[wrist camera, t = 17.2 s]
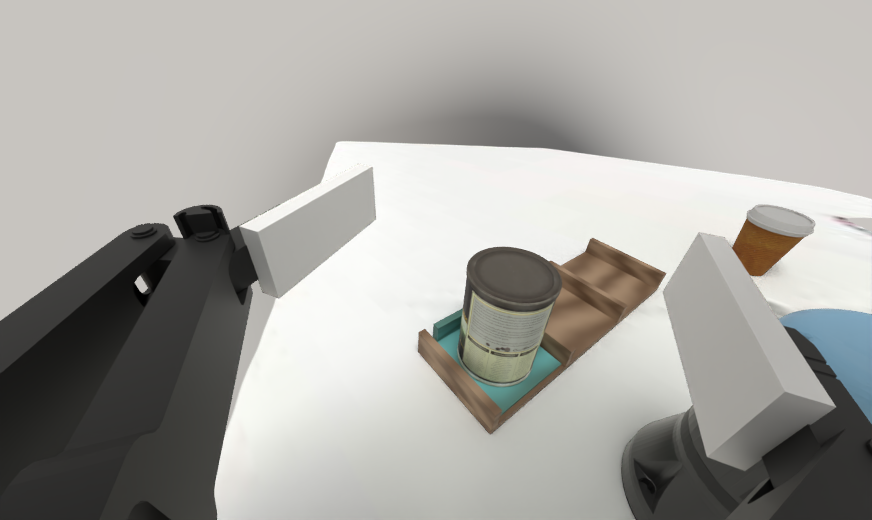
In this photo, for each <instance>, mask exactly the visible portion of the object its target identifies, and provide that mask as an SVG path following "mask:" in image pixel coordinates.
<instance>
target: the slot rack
mask: <svg viewBox="0 0 872 520" xmlns="http://www.w3.org/2000/svg"><path fill="white" fill-rule="evenodd" d="M549 262H550V263H551V264H552V265H553V266H554V267H555V268H556V269H557V270H558V272H559V274H560V276H561V279H562V289H561V291H560V294H559V296H558V297H557V299H556V301H555V304H554V307H553V310H552V312H551V315H550V318H549V321H548V324H547V326H546V329H545V332H544V335H543V338H542V340H541V343H540V346H539V348H538V351H537V354H536V357H535V360H534V362H533V367H532V370H531V372H530V374H529V375H528V377H527V378H526V379H524V380H523V381H521V382H520V383H518V384H515V385H513V386H508V387H495V386H490V385H486V384H484V383H482V382H480V381H478V380H476V379H475V378H473V377H472V376H471V375H469V374H468V373H467V372H466V371H465V369H464V368H463V367H462V365H461V363H460V361H459V358H458V354H457V346H458V342H459V335H460V327H461V320H462V312H463V309H461V310H459V311H457V312H455V313H453V314H451V315H450V316H448V317H446V318H444V319H442V320H440V321H439V322H437V323H435V324H434V327H433V337H432V336H431V335H430V334H429V333H428V332H427V331H426V330H425V329H424V330H422V331H420V332H419V340H418V352H419V353H420V354H421V356H422V357H423V358H424V359H425V360H426V361H427V362H428V364H429V365H430V366H431V367H432V368H433V369H434V371H435V372H436V373H437V374H438V375H439V376H440V377H441V379H442V380H443V381H444V382H445V383H446V384H447V385H448V387H449V388H450V389H451V390H452V391H453V392H454V394H455V395H456V396H457V397H458V398H459V399H460V400H461V402H462V403H463V404H464V405H465V406H466V407H467V409H468V410H469V411H470V412H471V413H472V414H473V415H474V417H475V418H476V419H477V420H478V421H479V422H480V424H481V425H482V426H483V427H484V428H485V429H486V430H487V432H488V433H489V434H491V433H493V432H494V431H495V430H496V429H497V428H498V427H500V426H501V425H502V424H503V423H504V422H505V421H506V420H508V419H509V418H510V417H511V416H512V415H513V414H515V413H516V412H517V411H518V410H519V409H520V408H521V407H523V406H524V405H525V404H526V403H527V402H528V401H530V400H531V399H532V398H533V397H534V396H535V395H536V394H538V393H539V392H540V391H541V390H542V389H543V388H545V387H546V386H547V385H548V384H549V383H550V382H551V381H553V380H554V379H555V378H556V377H557V376H558V375H560V374H561V373H562V372H563V371H564V370H565V369H566V368H568V367H569V366H570V365H571V364H572V363H573V362H574V361H576V360H577V359H578V358H579V357H580V356H581V355H583V354H584V353H585V352H586V351H587V350H588V349H589V348H591V347H592V346H593V345H594V344H595V343H596V342H598V341H599V340H600V339H601V338H602V337H603V336H604V335H606V334H607V333H608V332H609V331H610V330H611V329H613V328H614V327H615V326H616V325H617V324H618V323H619V322H621V321H622V320H623V319H624V318H625V317H626V316H628V315H629V314H630V313H631V312H632V311H633V310H634V309H636V308H637V307H638V306H639V305H640V304H641V303H643V302H644V301H645V300H646V299H647V298H648V297H649V296H651V295H652V294H653V293H654V292H655V291H656V290H657V288H658V287H659V285H660V283H661V282H662V280H663V278H664V277H665V275H666V273H665V272H663V271H660V270H658V269H656V268H654V267H652V266H650V265H648V264H646V263H644V262H642V261H640V260H638V259H636V258H633V257H631V256H629V255H627V254H625V253H623V252H621V251H619V250H617V249H615V248H613V247H611V246H609V245H606V244H604V243H602V242H600V241H598V240H596V239H594V238H592V239H590V241H589V244H588V246H587V249H586V251H585V252H584V253H582V254H581V255H579V256H577V257H575V258H574V259H572V260H570V261H568V262H567V263H565V264H563V265H561V266H559V265H558V264H556V263H554V262H553V261H549Z"/></svg>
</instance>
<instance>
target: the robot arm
mask: <svg viewBox="0 0 872 520" xmlns="http://www.w3.org/2000/svg"><path fill="white" fill-rule="evenodd" d="M173 217H174V219H175V221H176V223H177V225H178V228H179V230H180V232H181V234H182V236H183V238H175V237H173V235H172V233H171V231H170V229H169V227H168V226H167V225H165V224H159V223H154V224H150V223H147V224H144V225H143V224H141V225H138V226H136V227H134V228H131V229H129V230H127V231H125V232H124V233H122V234H121V235H119V236H118V237H116V238H115V239H114V240H112V241H111V242H110V243H108V244H107V245H105V246H104V247H103V248H101V249H100V250H98V251H97V252H96V253H94V254H93V255H92V256H90V257H89V258H87V259H86V260H84V261H83V262H82V263H80V264H79V265H78V266H76V267H75V268H73V269H72V270H70V271H69V272H68V273H66V274H65V275H64V276H62V277H61V278H59V279H58V280H57V281H55V282H54V283H52V284H51V285H50V286H48V287H47V288H46V289H44V290H43V291H41V292H40V293H39V294H37V295H36V296H34V297H33V298H32V299H30V300H29V301H27V302H26V303H25V304H23V305H22V306H20V307H19V308H18V309H16V310H15V311H14V312H12V313H11V314H9V315H8V316H7V317H5V318H4V319H2V320H1V321H0V520H217V509H216V504H215V498H214V486H215V480H216V475H217V470H218V465H219V460H220V455H221V450H222V445H223V440H224V435H225V430H226V425H227V420H228V415H229V409H230V404H231V400H232V394H233V389H234V385H235V379H236V374H237V369H238V364H239V360H240V355H241V350H242V344H243V340H244V335H245V329H246V325H247V319H248V314H249V309H250V304H251V299H252V294H253V292H252V288H251V284H252V283H254V282H255V281H257V280H258V281H259V284H260V287H261V290H262V292H263V293H265V294H268V295H271V296H273V297H276V298H280V297H282V296H283V295H284V294H285V293H287V292H288V291H289V290H290V289H291V288H293V287H294V286H295V285H296V284H298V283H299V282H300V281H301V280H302V279H304V278H305V277H306V276H307V275H309V274H310V273H311V272H312V271H313V270H315V269H316V268H317V267H318V266H320V265H321V264H322V263H323V262H324V261H326V260H327V259H328V258H329V257H330V256H332V255H333V254H334V253H335V252H337V251H338V250H339V249H340V248H341V247H343V246H344V245H345V244H346V243H348V242H349V241H350V240H351V239H352V238H354V237H355V236H356V235H357V234H359V233H360V232H361V231H362V230H363V229H365V228H366V227H367V226H368V225H370V224H371V223H372V222H373V221H374V220H376V211H375V196H374V182H373V167H372V166H367V165H362V164H357V165H355V166H353V167H351V168H349V169H347V170H345V171H344V172H342V173H340V174H338V175H336V176H334V177H332V178H330V179H328V180H326V181H324V182H323V183H321V184H319V185H317V186H315V187H313V188H311V189H310V190H307V191H306V192H303V193H302V194H300V195H298V196H296V197H294V198H292V199H290V200H288V201H286V202H284V203H283V204H280V205H278V206H276V207H274V208H272V209H270V210H268V211H266V212H264V213H262V214H260V216H256V217H254V218H253V219H251V220H249V221H247V222H245V223H243V224H241V225H239V226H237V227H235V228H233V229H231V230H229V227H228V225H227V222H226V219H225V216H224V214H223V211H222V209H221V208H220V207H218V206H215V205H200V206H193V207H190V208H186V209H184V210H182V211H180V212H177V213H176V214H175V215H174V216H173ZM140 275H141V277H142V278H143V280H144V282H145V283H146V285H147V287H148V289H147V290H146V291H145V292H144V293H141V292H140V291H139V289H138V288H137V286H136V285H135V283H134V282H135V281H136V279H137V278H138V277H139V276H140ZM663 295H664V299H665V302H666V306H667V310H668V314H669V317H670V321H671V325H672V329H673V332H674V336H675V340H676V343H677V347H678V351H679V355H680V358H681V362H682V366H683V370H684V373H685V377H686V381H687V384H688V388H689V392H690V396H691V399H692V403H693V405H692V407H691V408H690V409H689V410H688V411H687V412H684V413H681V414H677V415H674V416H671V417H668V418H664V419H661V420H658V421H655V422H652V423H650V424H648V425H646V426H645V427H643V428H642V429H641V430H639V431H638V433H637V434H636V435H635V436H634V437H633V438H632V440H631V441H630V442H629V444H628V445H627V447H626V449H625V451H624V455H623V459H622V479H623V484H624V489H625V492H626V496H627V499H628V502H629V504H630V507H631V509H632V511H633V513H634V515H635V518H636V520H872V314H867V313H863V312H857V311H851V310H842V309H809V310H802V311H797V312H793V313H790V314H788V315H785V316H783V317H781V318H779V319H778V318H777V316H776V315H775V313H774V312H773V310H772V308H771V307H770V305H769V304H768V302H767V301H766V299H765V298H764V296H763V295H762V293H761V292H760V290H759V289H758V287H757V286H756V284H755V283H754V281H753V280H752V278H751V277H750V275H749V273H748V272H747V270H746V269H745V267H744V266H743V264H742V263H741V261H740V260H739V258H738V257H737V255H736V254H735V252H734V251H733V249H732V248H731V246H730V245H729V243H728V242H727V240H726V238H725V237H720V236H715V235H710V234H705V233H700V232H699V233H698V235H697V236H696V238H695V240H694V241H693V243H692V244H691V246H690V248H689V249H688V251H687V253H686V254H685V256H684V258H683V259H682V261H681V262H680V264H679V266H678V267H677V269H676V271H675V272H674V274H673V276H672V277H671V279H670V281H669V282H668V284H667V285H666V287H665V289H664V290H663Z"/></svg>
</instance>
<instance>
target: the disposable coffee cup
mask: <svg viewBox="0 0 872 520" xmlns="http://www.w3.org/2000/svg"><path fill="white" fill-rule="evenodd" d="M814 226H815V222H814V220H812V219H811V218H809V217H807V216H805V215H803V214H801V213H798V212H796V211H793V210H790V209H786V208H782V207H778V206H772V205H756V206H755V207H754V208H753V209H752V210H749V211H748V212H747V219H746V221H745V223H744V225H743V227H742V229H741V231H740V233H739V235H738V237H737V239H736V241H735V243H734V245H733V247H732V249H733V251H734V252H735V254H736V255H737V257H738V258H739V260H740V261H741V263H742V264H743V266H744V267H745V269H746V270H747V272H748V273H749V275H753V276H762V275H763V274H764V273H766V272H767V271H768V270H769V269H770V268H771V267H772V266H773V265H774V264H775V263H777V262H778V261H779V260H780V259H781V258H782V257H783V256H784V255H785V254H786V253H788V252H789V251H790V250H791V249H792V248H793V247H794V246H795V245H796V244H797V243H799V242H800V241H801V240H802V239H803V238H804V237H806V236H808V235H809V234H812V233H813V232H814V229H813V228H814Z"/></svg>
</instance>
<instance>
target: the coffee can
mask: <svg viewBox="0 0 872 520" xmlns="http://www.w3.org/2000/svg"><path fill="white" fill-rule="evenodd" d="M561 289H562V279H561V276H560V274H559V272H558V270H557V269H556V268H555V267H554V266H553V265H552V264H551V263H550V262H549V261H547V260H546V259H544V258H543V257H541V256H539V255H537V254H535V253H533V252H530V251H526V250H523V249H518V248H512V247H493V248H488V249H485V250H482V251H480V252H478V253H476V254H475V255H474V256H473V257H472V258H471V259H470V260H469V262H468V265H467V280H466V289H465V296H464V304H463V312H462V320H461V327H460V335H459V342H458V346H457V354H458V358H459V361H460V363H461V365H462V367H463V368H464V369H465V371H466V372H467V373H468V374H469V375H471V376H472V377H473V378H475V379H476V380H478V381H480V382H482V383H484V384H486V385H490V386H495V387H508V386H513V385H515V384H518V383H520V382H521V381H523V380H524V379H526V378H527V377H528V375H529V374H530V372H531V370H532V367H533V362H534V360H535V357H536V354H537V351H538V348H539V346H540V343H541V340H542V338H543V335H544V332H545V329H546V326H547V324H548V321H549V318H550V315H551V312H552V310H553V307H554V304H555V301H556V299H557V297H558V296H559V294H560V291H561Z"/></svg>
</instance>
